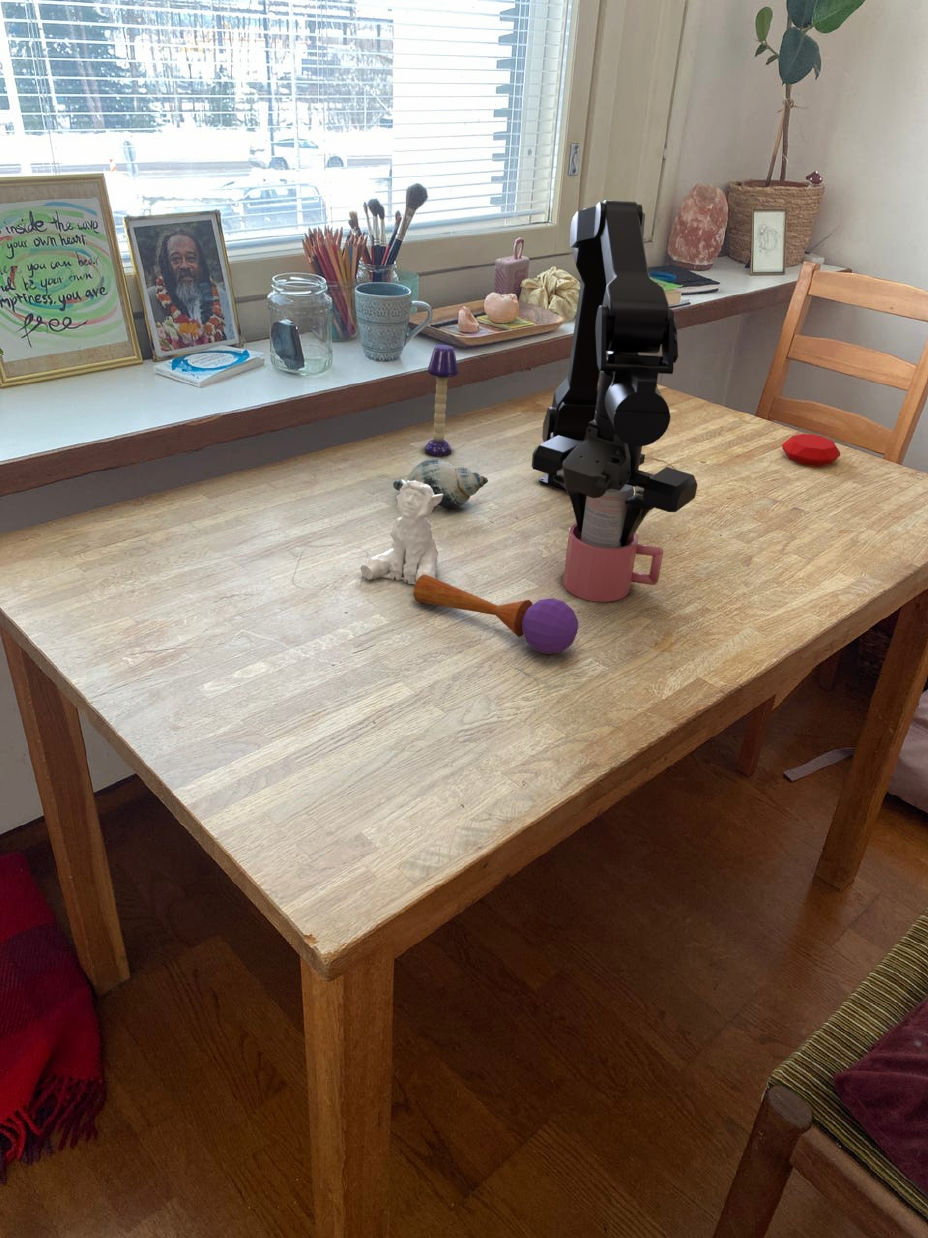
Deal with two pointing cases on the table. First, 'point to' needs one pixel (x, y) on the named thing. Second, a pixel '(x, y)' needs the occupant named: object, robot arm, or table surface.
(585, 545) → the mug
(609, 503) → the energy drink
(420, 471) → the seashell
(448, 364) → the toy lamp
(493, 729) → the table surface
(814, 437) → the gemstone
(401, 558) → the seated beast figurine
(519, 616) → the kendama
